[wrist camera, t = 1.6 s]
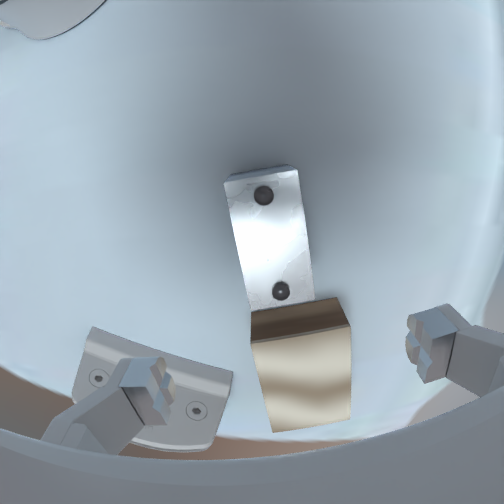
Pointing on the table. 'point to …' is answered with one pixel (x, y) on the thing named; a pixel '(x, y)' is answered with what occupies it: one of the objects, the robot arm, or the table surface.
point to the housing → (271, 236)
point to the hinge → (186, 400)
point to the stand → (303, 363)
